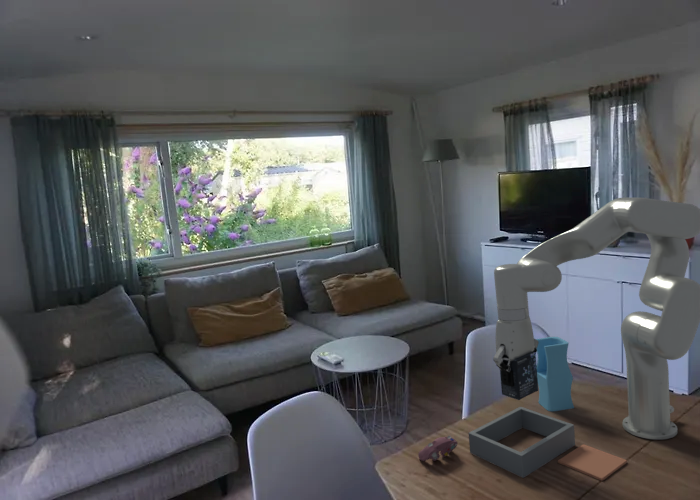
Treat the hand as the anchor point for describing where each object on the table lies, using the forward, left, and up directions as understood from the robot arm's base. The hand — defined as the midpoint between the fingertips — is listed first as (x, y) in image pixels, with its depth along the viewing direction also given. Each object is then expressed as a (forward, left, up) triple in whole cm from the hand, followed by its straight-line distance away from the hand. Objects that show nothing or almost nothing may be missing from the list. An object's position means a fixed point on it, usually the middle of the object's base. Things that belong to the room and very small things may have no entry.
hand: (519, 379), depth 130 cm
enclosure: (0, 0, -19) cm, 19 cm away
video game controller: (+18, -13, -19) cm, 29 cm away
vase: (-28, -9, -19) cm, 35 cm away
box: (0, 0, -4) cm, 4 cm away
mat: (-6, +15, -19) cm, 25 cm away
